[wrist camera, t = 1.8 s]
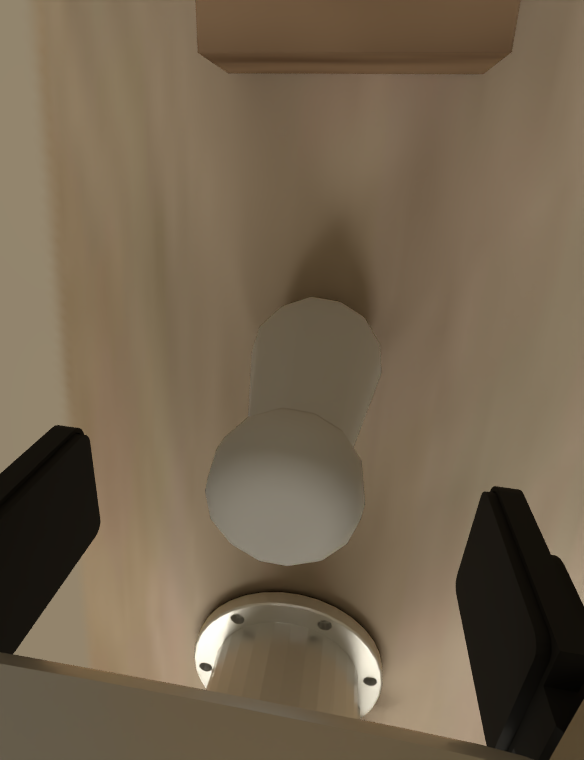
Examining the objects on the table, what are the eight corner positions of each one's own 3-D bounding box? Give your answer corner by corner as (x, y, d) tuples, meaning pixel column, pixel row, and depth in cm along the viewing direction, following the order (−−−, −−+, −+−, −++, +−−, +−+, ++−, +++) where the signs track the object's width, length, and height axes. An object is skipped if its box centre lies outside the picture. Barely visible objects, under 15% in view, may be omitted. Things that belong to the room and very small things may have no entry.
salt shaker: (240, 322, 24) (120, 473, 12) (341, 262, 22) (315, 372, 10) (301, 415, 26) (248, 627, 14) (401, 366, 24) (436, 563, 12)
